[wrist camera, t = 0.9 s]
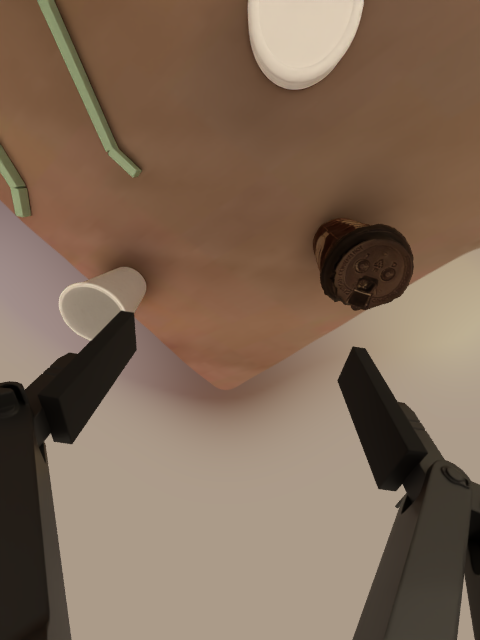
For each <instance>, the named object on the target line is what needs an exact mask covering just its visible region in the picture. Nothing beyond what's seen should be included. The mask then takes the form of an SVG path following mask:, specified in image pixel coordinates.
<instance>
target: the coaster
mask: <svg viewBox="0 0 480 640" xmlns="http://www.w3.org/2000/svg"><path fill="white" fill-rule="evenodd" d="M363 3H364V0H248V27H249V37H250V43H251V47H252V51H253V54H254V57H255V59H256V62H257V63H258V65H259V67H260V69H261V70H262V72H263V73H264V74H265V75H266V77H267V78H268V79H269V80H271V81H272V82H273V83H274V84H276V85H278V86H280V87H282V88H285V89H290V90H299V89H304V88H307V87H310V86H312V85H314V84H316V83H318V82H319V81H321V80H322V79H324V78H325V77H326V76H327V75H328V74H329V73H330V72H331V71H332V70H333V69H334V68H335V66H336V65H337V64H338V62H339V61H340V60H341V58H342V57H343V56H344V54H345V53H346V51H347V49H348V48H349V46H350V44H351V42H352V40H353V38H354V36H355V34H356V31H357V28H358V25H359V22H360V19H361V14H362V9H363Z"/></svg>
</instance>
